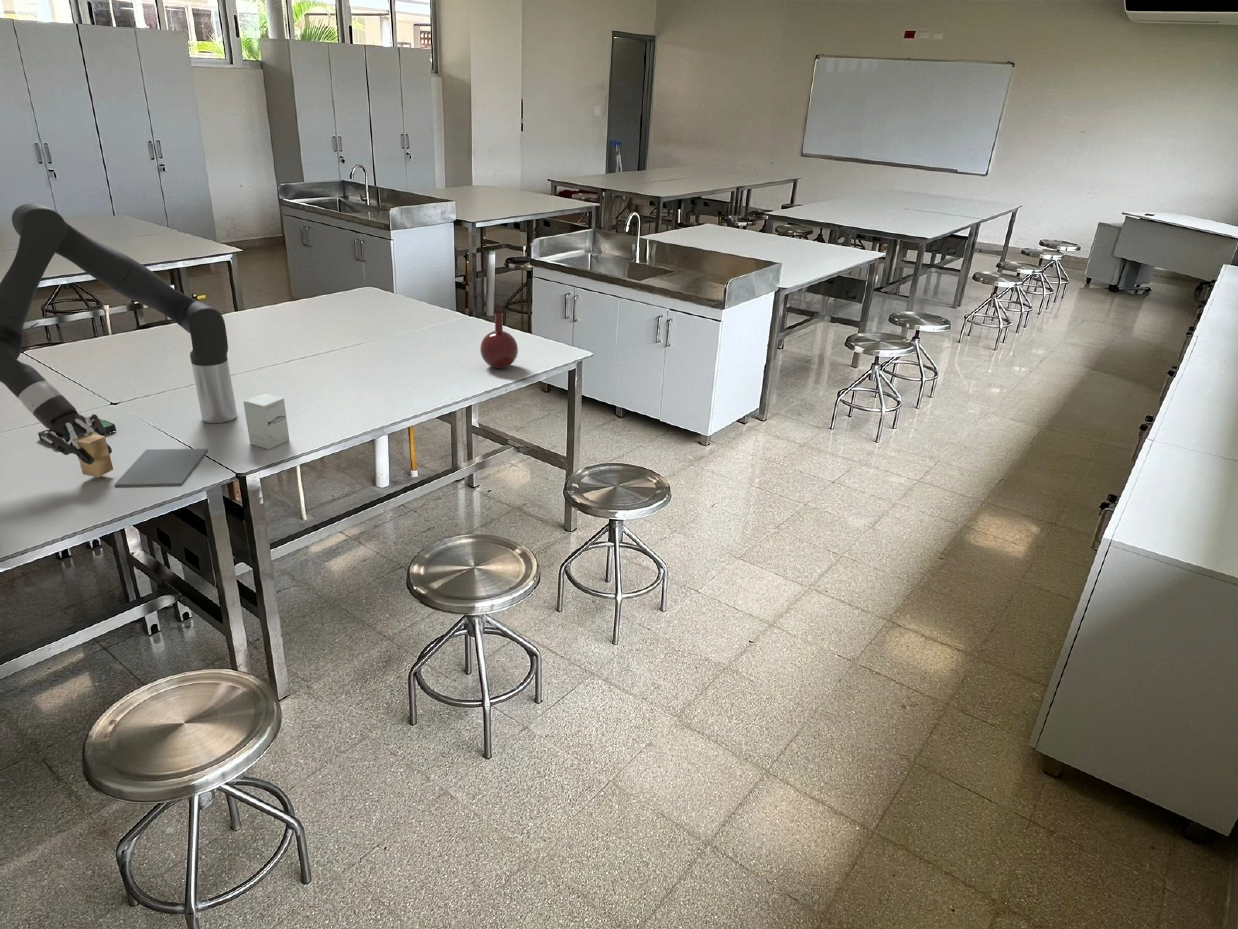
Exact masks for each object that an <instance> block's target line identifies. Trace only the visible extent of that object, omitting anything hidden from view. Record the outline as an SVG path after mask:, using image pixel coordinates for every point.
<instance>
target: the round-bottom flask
mask: <svg viewBox="0 0 1238 929" xmlns="http://www.w3.org/2000/svg"><path fill="white" fill-rule="evenodd" d="M503 315H504V312H503V311H500V310H496V311H494V330H493V331H490V332H489V333H487V334H486V335H485V336H484V337H483V338H482V340H481V343H480V347H479V349H480V356H481V358H482V360H483V361H484V362H485V364H486V365H488V366H490V367H492V368H494V369H504V368H507V367H509V366H511V365H512V364H513V363H514V362H515V361H516V359H517V357H518V353H519V352H518V351H519V348H518V343H517V340H516V339H515V338H514V337H513V335H512V334H510V333H509V332H506V331H504V330H503V328H504V327H503Z"/></svg>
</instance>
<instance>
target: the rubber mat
mask: <svg viewBox="0 0 1238 929" xmlns="http://www.w3.org/2000/svg"><path fill="white" fill-rule="evenodd" d="M208 449H209V448H176V449H175V448H165V449H163V448H162V449H161V448H160V449H159V448H155V449H154V448H153V449H145V450H144V452H142V453H141V455H140V456H139V457H138V458H137V459H136V460H135V461H134V462H133V464H131V466H130V467H129V468H128V469H127V470H126V471H125V472H124V473H123V474H122V475H121V476H120V478H119V479H118V480H117V481H116V482H115V483H114V484H113V485H114V487H115V486H123V487H161V486H163V487H164V486H168V487H169V486H171V487H172V486H183V484H184V483H185V482H186V481H187V479H189V477H190V475H191V474H192V473H193V471H194V470H195V469H196V467H197V466H198V465H199V464H200V462H201V461H202V459H203V458H204V456H205V455H206V454H207V453H208V451H209V450H208Z"/></svg>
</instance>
